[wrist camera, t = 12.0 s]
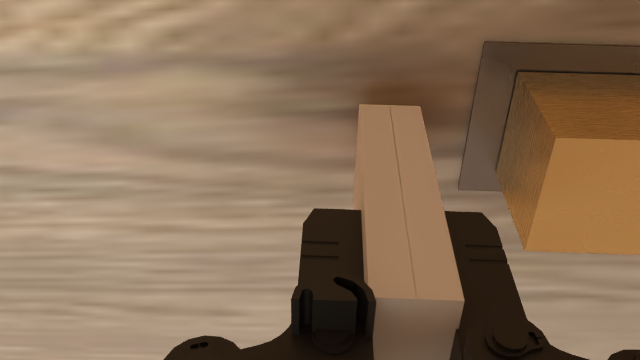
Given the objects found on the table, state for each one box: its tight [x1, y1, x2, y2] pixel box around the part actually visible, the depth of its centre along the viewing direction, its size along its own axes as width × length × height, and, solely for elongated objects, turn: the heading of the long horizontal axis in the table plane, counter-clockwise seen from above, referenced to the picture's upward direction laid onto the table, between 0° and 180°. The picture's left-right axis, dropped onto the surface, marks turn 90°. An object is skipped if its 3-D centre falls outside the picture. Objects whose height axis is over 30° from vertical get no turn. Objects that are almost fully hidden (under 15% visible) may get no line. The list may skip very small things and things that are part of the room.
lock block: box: [496, 72, 640, 255], centre depth 15 cm, size 4×3×3 cm
